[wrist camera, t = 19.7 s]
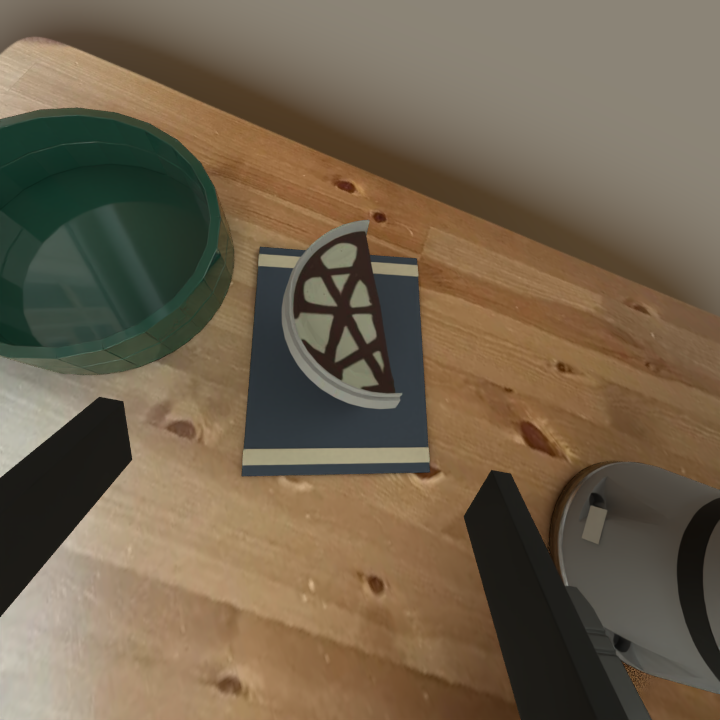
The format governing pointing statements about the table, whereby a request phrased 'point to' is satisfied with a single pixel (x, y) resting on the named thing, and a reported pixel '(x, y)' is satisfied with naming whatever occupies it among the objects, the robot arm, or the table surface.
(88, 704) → the table surface
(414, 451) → the towel
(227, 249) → the green round shallow dish
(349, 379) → the food container
